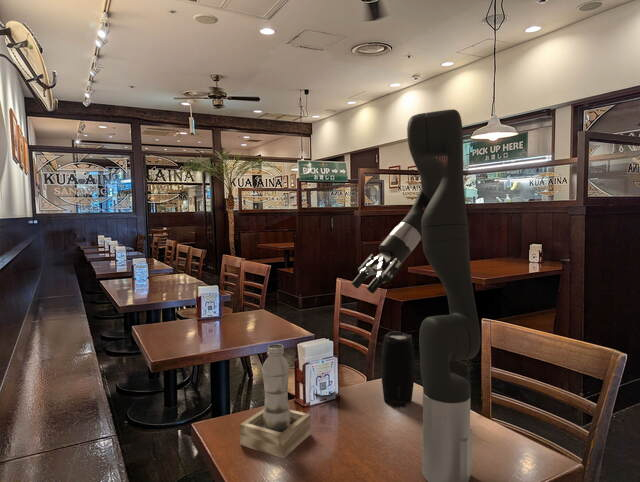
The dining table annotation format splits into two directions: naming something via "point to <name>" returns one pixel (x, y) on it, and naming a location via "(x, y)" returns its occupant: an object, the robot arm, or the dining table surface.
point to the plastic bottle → (276, 389)
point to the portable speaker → (397, 368)
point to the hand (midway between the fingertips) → (361, 288)
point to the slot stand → (274, 434)
